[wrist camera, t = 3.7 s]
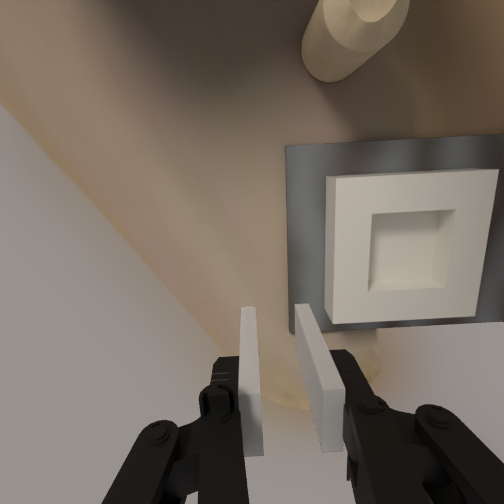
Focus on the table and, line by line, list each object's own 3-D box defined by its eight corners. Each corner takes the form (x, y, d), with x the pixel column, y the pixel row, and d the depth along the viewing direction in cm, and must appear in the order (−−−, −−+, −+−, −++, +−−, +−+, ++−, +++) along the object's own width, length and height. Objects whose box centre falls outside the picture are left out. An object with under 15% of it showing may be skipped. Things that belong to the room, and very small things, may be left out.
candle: (367, 15, 27) (432, -65, 18) (357, 85, 29) (412, 47, 19) (303, 10, 27) (335, -73, 17) (297, 80, 29) (323, 40, 19)
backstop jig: (289, 330, 36) (304, 392, 26) (285, 146, 30) (303, 139, 20) (512, 318, 36) (610, 375, 26) (550, 131, 30) (692, 117, 20)
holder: (324, 307, 34) (332, 324, 31) (326, 176, 30) (336, 178, 27) (452, 300, 34) (474, 316, 31) (471, 168, 30) (499, 169, 27)
